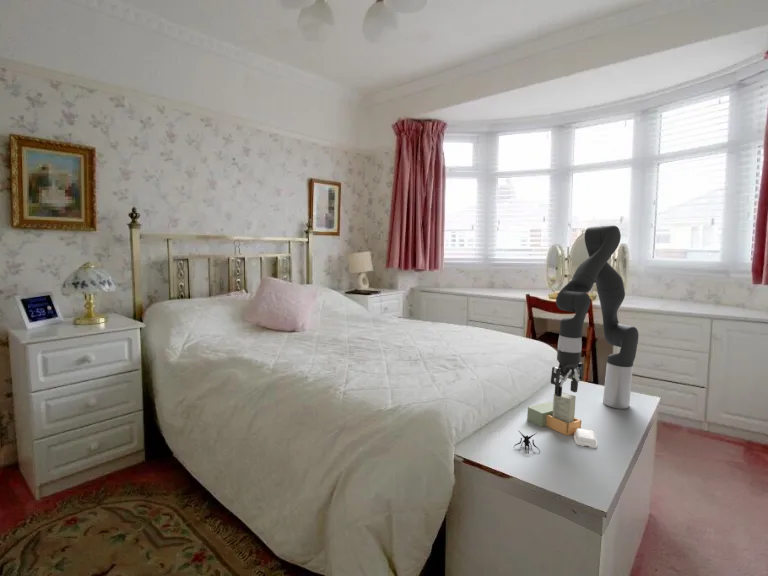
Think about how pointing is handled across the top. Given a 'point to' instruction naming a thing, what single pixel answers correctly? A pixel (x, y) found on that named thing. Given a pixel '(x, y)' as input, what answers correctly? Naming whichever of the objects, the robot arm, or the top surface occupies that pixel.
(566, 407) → the skincare box
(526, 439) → the creature
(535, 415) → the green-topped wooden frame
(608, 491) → the top surface
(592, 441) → the soap
